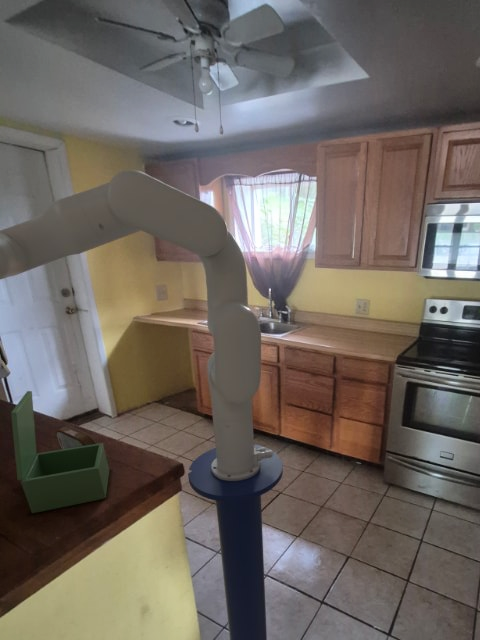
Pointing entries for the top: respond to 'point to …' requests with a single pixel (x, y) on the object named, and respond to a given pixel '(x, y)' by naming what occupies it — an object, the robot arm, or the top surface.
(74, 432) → the tin
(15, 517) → the top surface
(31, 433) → the lid
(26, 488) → the chest
